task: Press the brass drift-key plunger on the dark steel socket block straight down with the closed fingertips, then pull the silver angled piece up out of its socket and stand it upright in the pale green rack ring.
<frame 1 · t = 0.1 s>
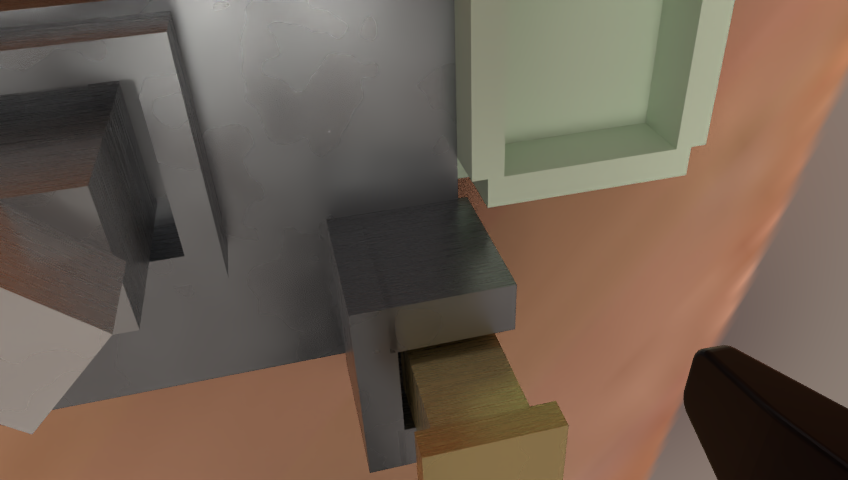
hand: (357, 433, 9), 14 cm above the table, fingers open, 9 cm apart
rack: (562, 42, 22), on the table
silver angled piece: (66, 157, 19), point 1 cm above the table, touching socket block
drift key: (465, 410, 20), point 7 cm above the table, slide at 0.0 cm
socket block: (217, 195, 22), on the table
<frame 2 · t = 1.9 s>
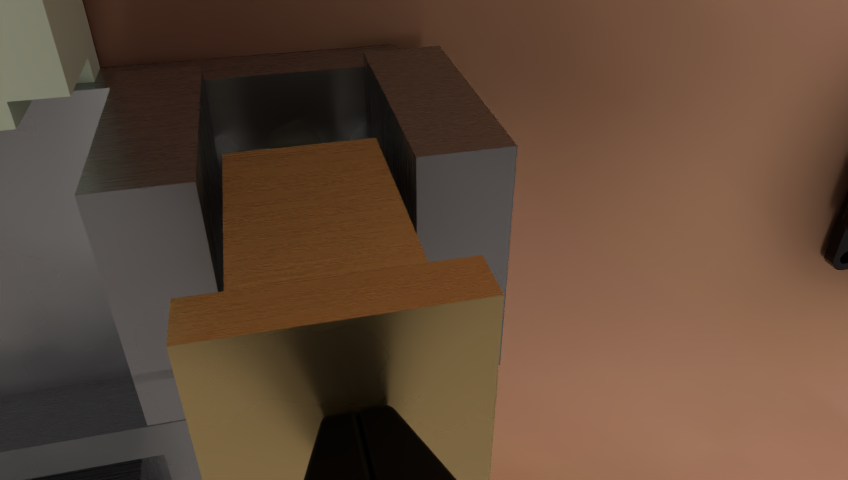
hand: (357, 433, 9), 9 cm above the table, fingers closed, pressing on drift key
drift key: (325, 300, 11), point 7 cm above the table, slide at 0.3 cm, touching gripper
socket block: (160, 343, 19), on the table
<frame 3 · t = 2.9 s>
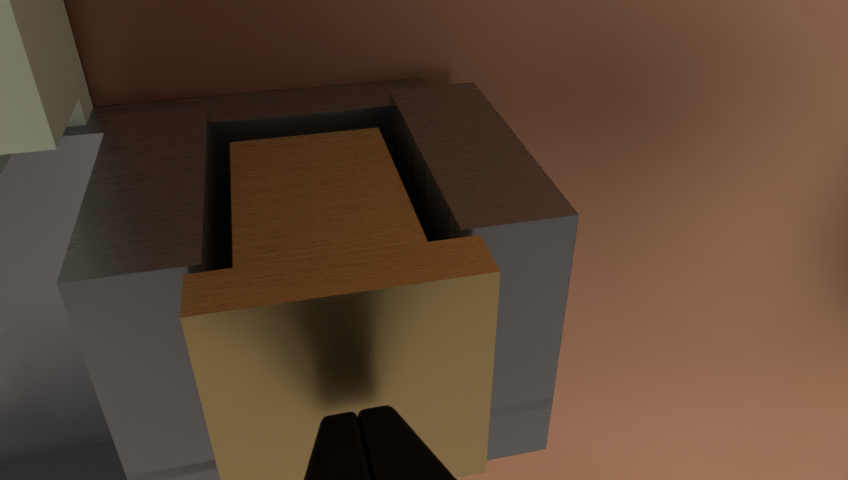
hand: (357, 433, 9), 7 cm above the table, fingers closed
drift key: (329, 282, 11), point 4 cm above the table, slide at 2.8 cm
socket block: (160, 399, 17), on the table
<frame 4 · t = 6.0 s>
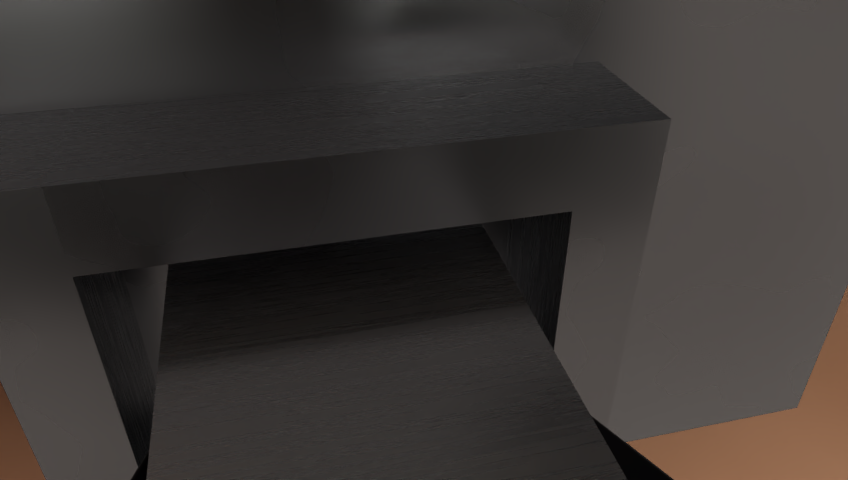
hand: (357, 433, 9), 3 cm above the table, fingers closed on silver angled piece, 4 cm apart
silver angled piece: (334, 323, 10), point 1 cm above the table, touching gripper, socket block
socket block: (485, 45, 10), on the table
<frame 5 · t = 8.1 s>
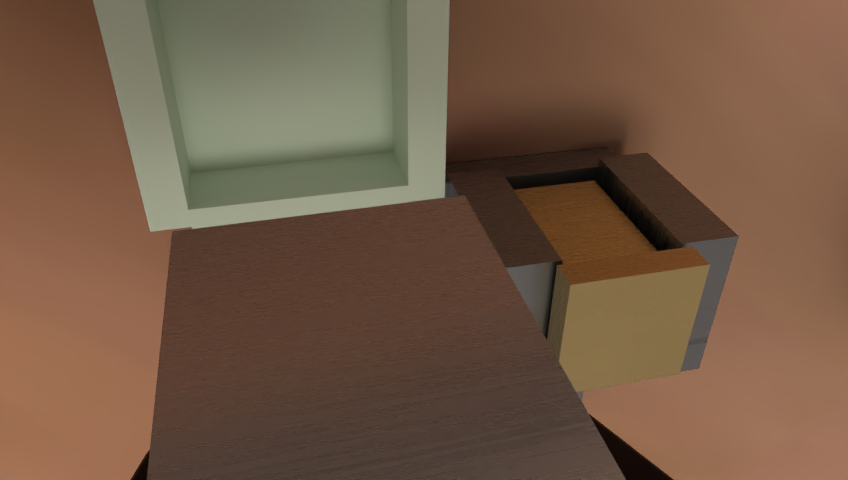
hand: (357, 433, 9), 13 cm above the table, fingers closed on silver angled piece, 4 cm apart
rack: (282, 54, 19), on the table
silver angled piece: (334, 324, 10), point 11 cm above the table, touching gripper
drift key: (585, 271, 20), point 4 cm above the table, slide at 2.8 cm
socket block: (412, 350, 26), on the table
when the fingers open (4 cm above the table, at t = 10.0 s): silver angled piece drops 1 cm, resting on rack.
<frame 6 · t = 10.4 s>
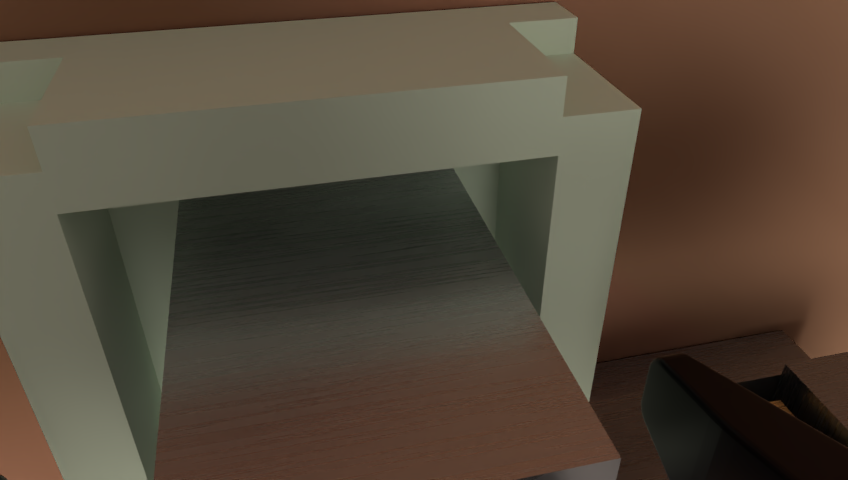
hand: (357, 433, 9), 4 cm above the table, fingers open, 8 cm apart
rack: (317, 250, 12), on the table
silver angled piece: (328, 279, 11), point 1 cm above the table, touching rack
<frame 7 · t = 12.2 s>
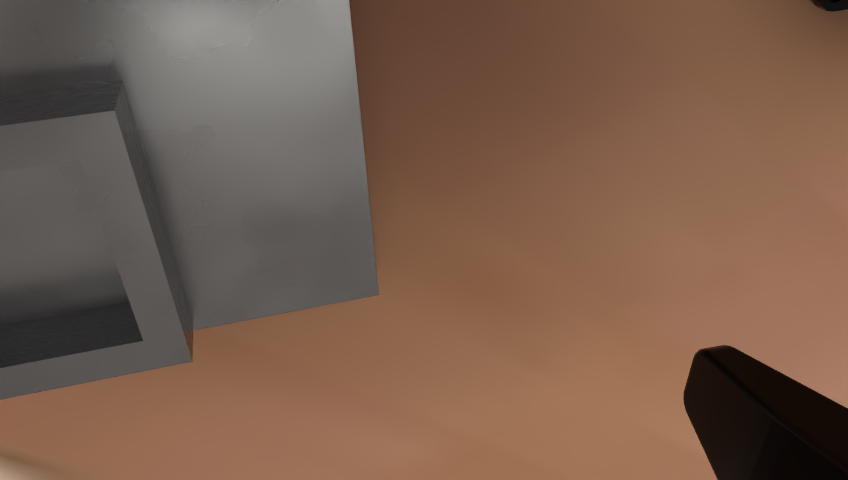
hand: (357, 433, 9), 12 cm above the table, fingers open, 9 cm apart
socket block: (81, 72, 17), on the table
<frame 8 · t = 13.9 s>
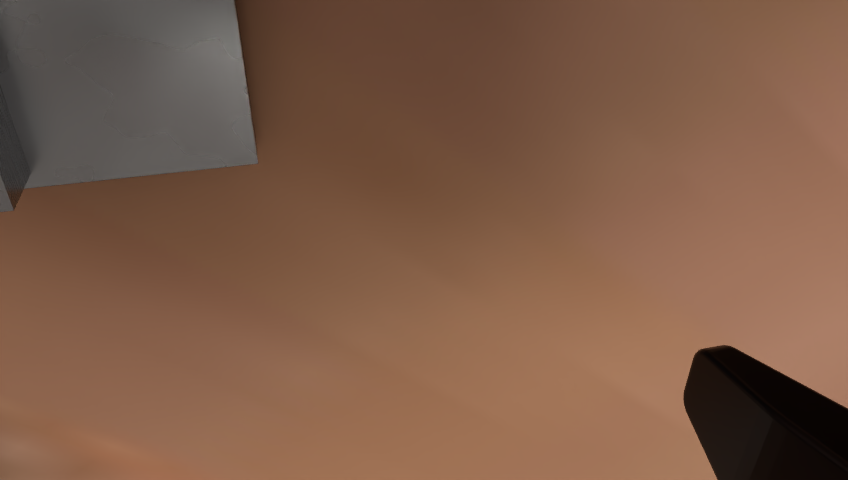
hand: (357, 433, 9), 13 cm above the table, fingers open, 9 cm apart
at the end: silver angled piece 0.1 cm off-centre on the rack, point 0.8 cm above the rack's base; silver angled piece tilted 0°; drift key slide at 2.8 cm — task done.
